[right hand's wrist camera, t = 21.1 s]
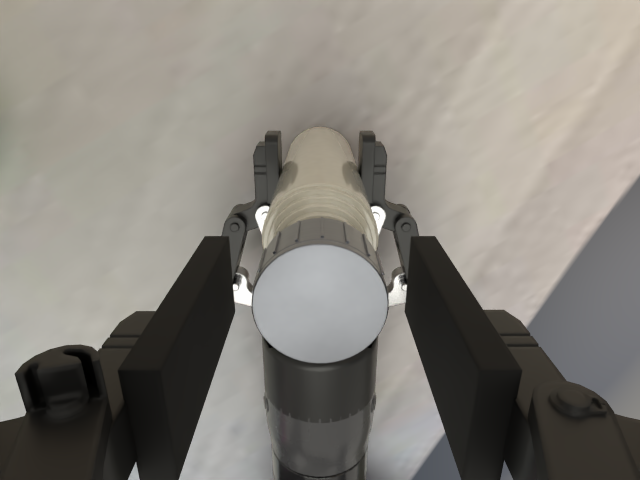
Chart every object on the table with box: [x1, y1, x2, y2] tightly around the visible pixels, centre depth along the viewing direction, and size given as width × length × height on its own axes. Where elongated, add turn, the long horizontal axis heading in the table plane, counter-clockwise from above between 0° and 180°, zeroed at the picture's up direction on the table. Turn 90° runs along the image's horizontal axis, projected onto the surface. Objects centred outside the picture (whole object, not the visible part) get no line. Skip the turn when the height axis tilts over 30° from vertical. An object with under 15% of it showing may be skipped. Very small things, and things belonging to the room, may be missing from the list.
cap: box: [252, 217, 389, 363], centre depth 14 cm, size 4×4×2 cm
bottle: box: [262, 127, 378, 251], centre depth 22 cm, size 4×4×20 cm
